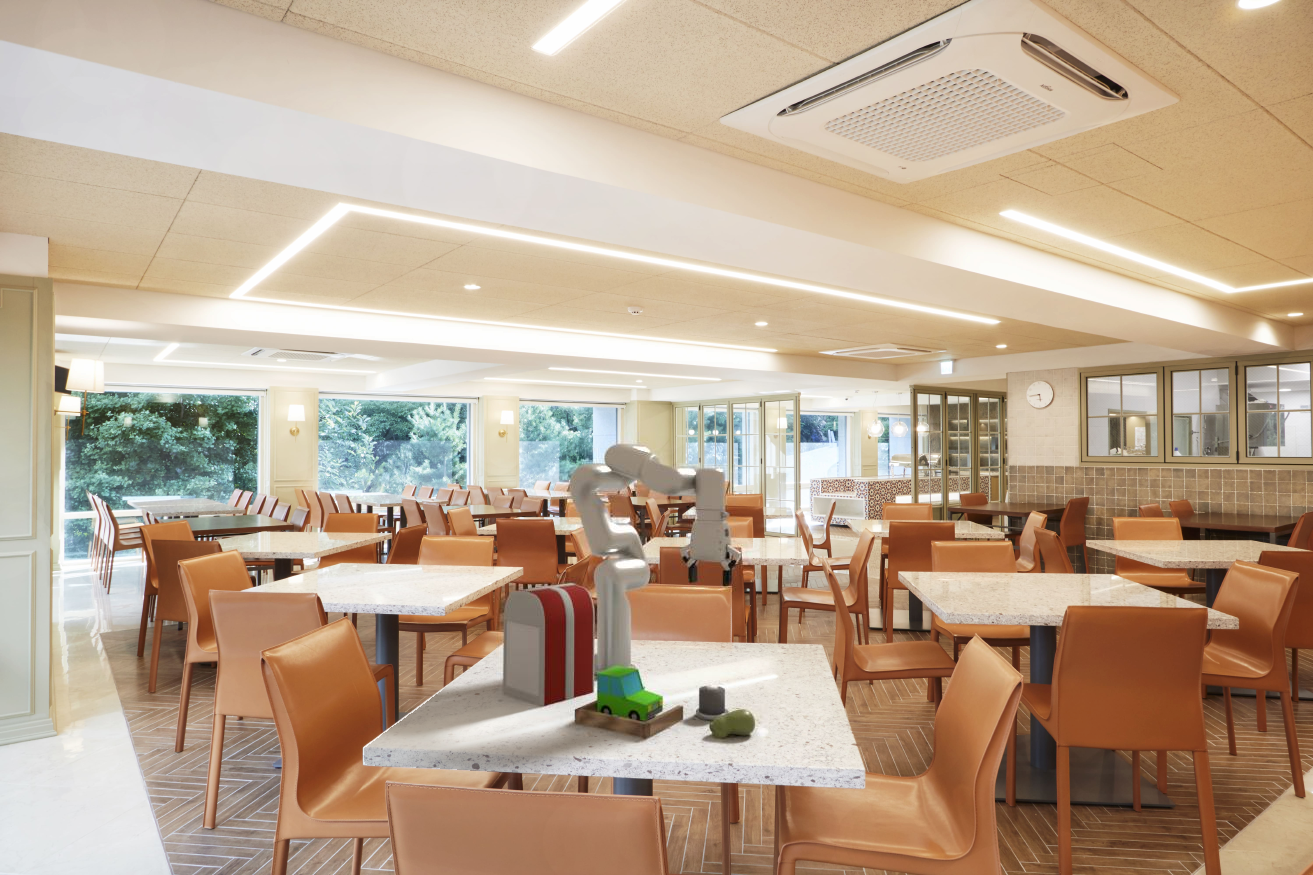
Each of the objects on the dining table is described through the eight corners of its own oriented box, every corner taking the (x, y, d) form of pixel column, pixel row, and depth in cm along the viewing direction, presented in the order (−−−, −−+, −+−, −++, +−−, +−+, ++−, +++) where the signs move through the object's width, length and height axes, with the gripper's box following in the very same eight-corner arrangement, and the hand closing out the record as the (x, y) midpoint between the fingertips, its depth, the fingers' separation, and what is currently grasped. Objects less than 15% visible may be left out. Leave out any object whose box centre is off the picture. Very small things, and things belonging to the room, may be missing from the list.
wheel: (694, 712, 177) (694, 687, 178) (706, 705, 182) (706, 681, 183) (717, 716, 174) (717, 691, 174) (729, 709, 179) (729, 685, 179)
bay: (574, 722, 173) (574, 709, 173) (613, 705, 186) (613, 692, 186) (647, 738, 162) (647, 724, 163) (683, 719, 175) (683, 706, 175)
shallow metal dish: (689, 717, 177) (689, 712, 177) (705, 708, 183) (705, 704, 183) (719, 722, 173) (719, 718, 173) (734, 713, 179) (734, 709, 179)
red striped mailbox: (596, 692, 197) (596, 586, 198) (541, 707, 184) (542, 593, 186) (554, 680, 208) (555, 579, 210) (500, 693, 196) (502, 586, 197)
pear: (756, 711, 163) (711, 722, 162) (760, 736, 163) (715, 747, 162) (748, 703, 169) (704, 713, 167) (752, 727, 169) (708, 737, 167)
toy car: (644, 727, 170) (644, 682, 170) (594, 718, 176) (594, 674, 177) (666, 715, 179) (666, 671, 179) (618, 706, 185) (618, 664, 186)
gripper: (747, 517, 195) (747, 585, 194) (688, 514, 204) (687, 579, 203) (733, 518, 188) (733, 588, 187) (673, 515, 197) (673, 582, 197)
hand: (709, 583), depth 195 cm, fingers open, 9 cm apart
